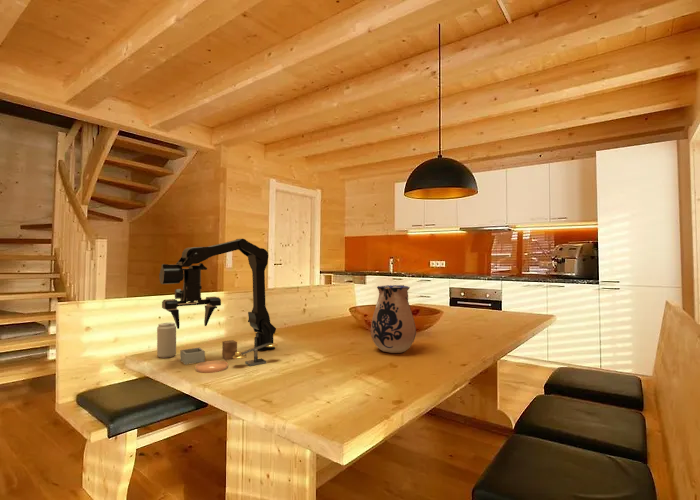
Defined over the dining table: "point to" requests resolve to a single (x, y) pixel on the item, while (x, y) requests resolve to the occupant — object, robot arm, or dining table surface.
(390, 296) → the ceramic pitcher
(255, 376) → the dining table surface
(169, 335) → the beverage can
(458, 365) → the dining table surface
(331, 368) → the dining table surface
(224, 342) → the block
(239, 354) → the balance
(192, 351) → the collar
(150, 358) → the dining table surface
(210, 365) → the dish
